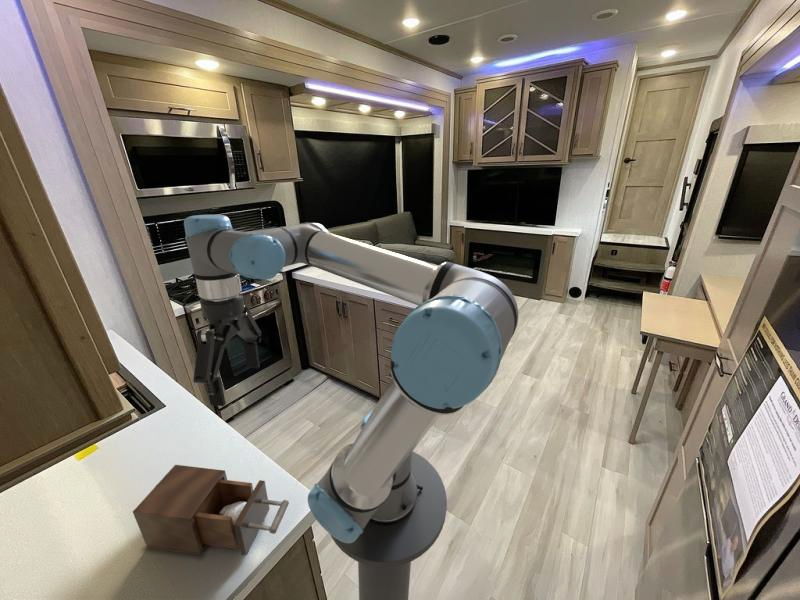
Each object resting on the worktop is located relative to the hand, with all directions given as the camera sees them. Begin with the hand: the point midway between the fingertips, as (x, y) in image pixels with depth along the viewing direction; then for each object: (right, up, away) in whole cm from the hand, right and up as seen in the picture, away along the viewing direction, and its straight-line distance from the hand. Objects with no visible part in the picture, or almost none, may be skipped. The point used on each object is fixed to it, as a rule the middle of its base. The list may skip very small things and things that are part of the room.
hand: (237, 384), depth 71 cm
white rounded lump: (+2, -28, -4) cm, 29 cm away
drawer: (+4, -30, -4) cm, 30 cm away
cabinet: (-8, -30, -3) cm, 31 cm away
